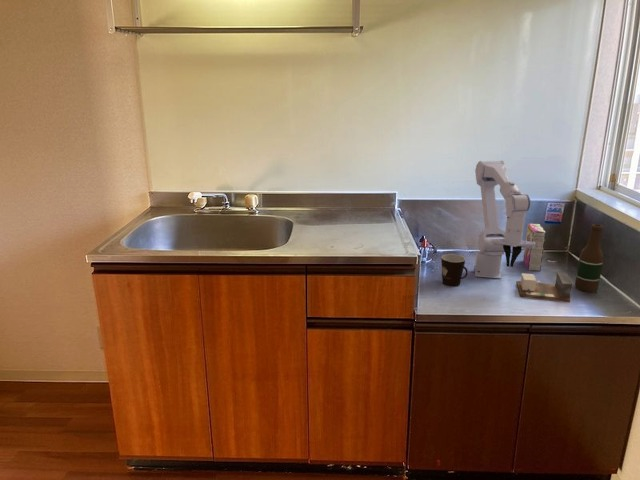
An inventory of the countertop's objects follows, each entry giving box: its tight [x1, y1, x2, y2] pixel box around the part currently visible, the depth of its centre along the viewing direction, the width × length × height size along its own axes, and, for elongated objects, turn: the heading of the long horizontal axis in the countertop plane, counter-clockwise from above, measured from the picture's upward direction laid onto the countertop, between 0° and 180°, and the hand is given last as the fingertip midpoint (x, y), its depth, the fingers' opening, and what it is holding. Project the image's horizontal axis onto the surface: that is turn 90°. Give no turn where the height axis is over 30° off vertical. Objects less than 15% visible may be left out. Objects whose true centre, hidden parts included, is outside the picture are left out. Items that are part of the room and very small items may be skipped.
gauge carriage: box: [520, 272, 542, 294], centre depth 173 cm, size 6×9×4 cm
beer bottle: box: [574, 223, 604, 294], centre depth 174 cm, size 8×8×24 cm
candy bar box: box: [522, 223, 546, 272], centre depth 196 cm, size 11×5×16 cm, turn 168°
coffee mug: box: [440, 253, 468, 287], centre depth 179 cm, size 12×9×10 cm
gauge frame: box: [515, 272, 573, 303], centre depth 173 cm, size 16×12×6 cm
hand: (509, 265), depth 173 cm, fingers closed
